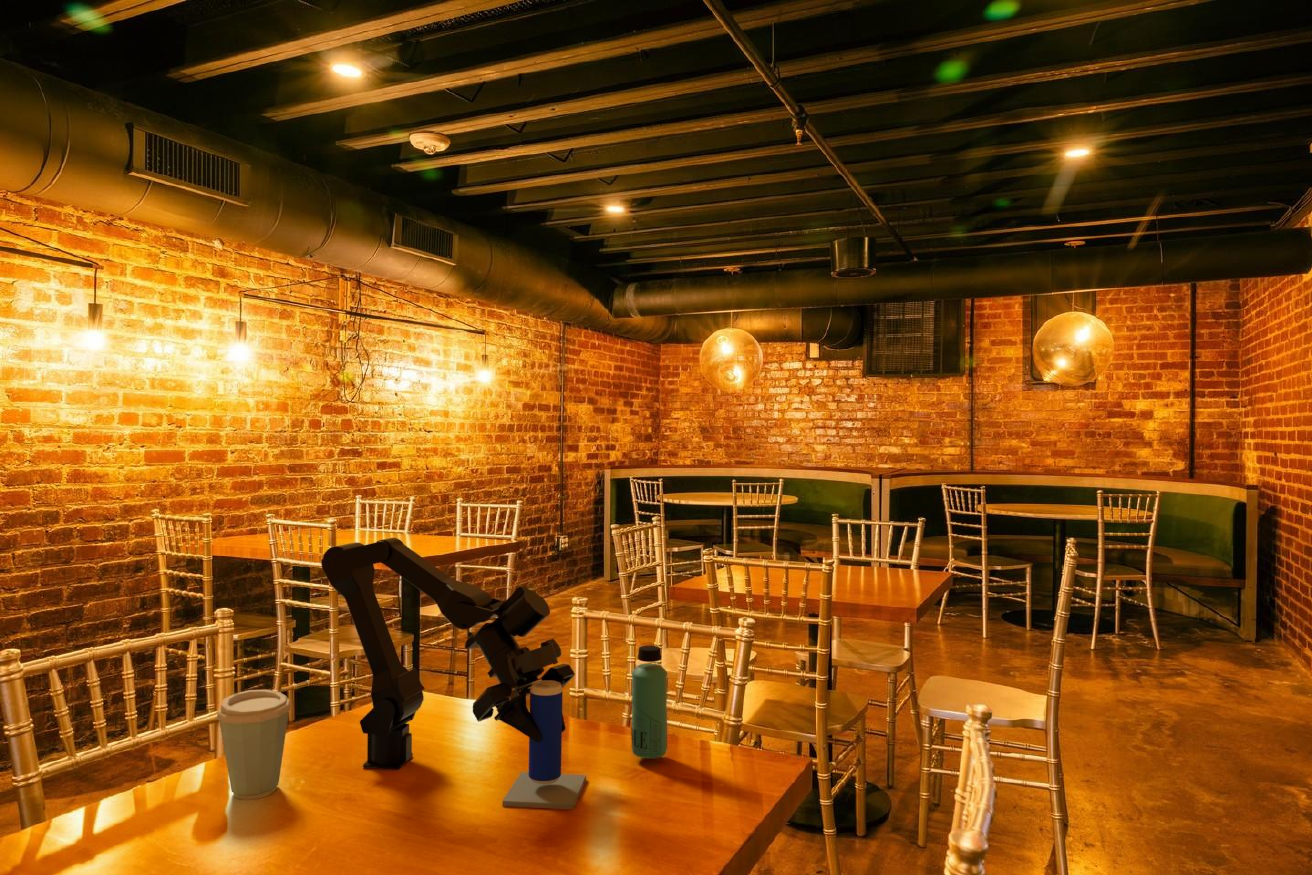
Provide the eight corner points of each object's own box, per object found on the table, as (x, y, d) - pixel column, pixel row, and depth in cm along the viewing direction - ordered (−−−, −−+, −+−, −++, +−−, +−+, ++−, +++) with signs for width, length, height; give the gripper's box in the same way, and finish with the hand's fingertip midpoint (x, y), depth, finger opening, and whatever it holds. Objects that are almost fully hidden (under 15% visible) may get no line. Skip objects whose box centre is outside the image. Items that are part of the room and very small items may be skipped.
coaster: (502, 805, 125) (502, 800, 125) (521, 776, 136) (521, 772, 136) (573, 809, 124) (573, 804, 124) (586, 779, 135) (586, 775, 135)
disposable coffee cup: (305, 785, 132) (306, 692, 132) (247, 812, 122) (248, 712, 122) (259, 773, 136) (260, 684, 136) (199, 799, 127) (201, 702, 127)
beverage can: (564, 772, 132) (565, 680, 132) (557, 786, 127) (558, 689, 127) (532, 771, 133) (534, 678, 133) (524, 784, 128) (526, 688, 128)
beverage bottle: (672, 755, 145) (673, 643, 146) (660, 769, 139) (661, 652, 139) (638, 751, 148) (639, 640, 148) (624, 764, 141) (625, 649, 141)
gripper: (486, 636, 125) (538, 723, 118) (567, 615, 140) (617, 692, 134) (451, 678, 129) (498, 764, 123) (533, 654, 144) (579, 730, 138)
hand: (551, 735), depth 129 cm, fingers closed on beverage can, 5 cm apart
